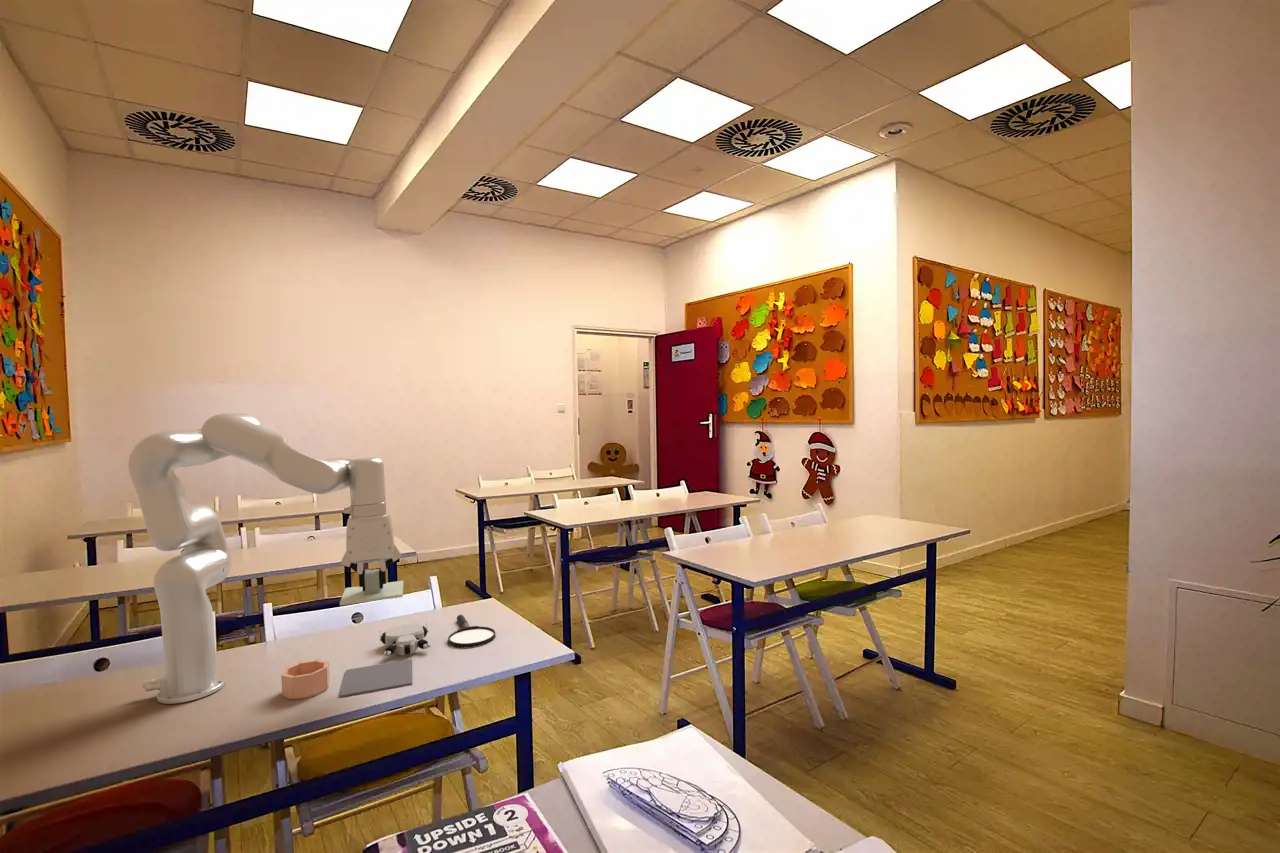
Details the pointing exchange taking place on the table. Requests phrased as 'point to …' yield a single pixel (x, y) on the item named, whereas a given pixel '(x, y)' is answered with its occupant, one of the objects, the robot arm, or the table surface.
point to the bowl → (305, 679)
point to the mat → (377, 677)
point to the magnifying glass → (470, 635)
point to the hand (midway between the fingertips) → (373, 587)
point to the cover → (372, 590)
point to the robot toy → (404, 639)
